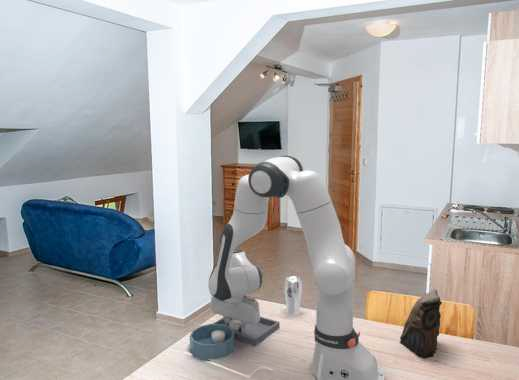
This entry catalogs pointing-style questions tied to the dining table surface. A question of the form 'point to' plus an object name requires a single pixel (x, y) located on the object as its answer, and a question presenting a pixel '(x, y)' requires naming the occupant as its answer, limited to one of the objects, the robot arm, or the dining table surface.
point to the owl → (423, 326)
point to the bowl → (203, 342)
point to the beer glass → (293, 295)
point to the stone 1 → (218, 337)
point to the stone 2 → (235, 325)
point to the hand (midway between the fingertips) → (235, 329)
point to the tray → (255, 330)
